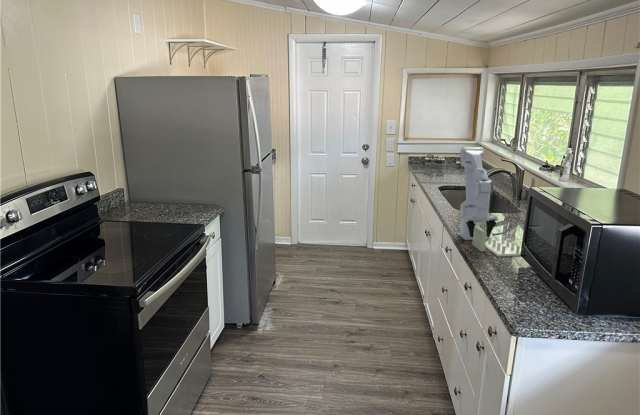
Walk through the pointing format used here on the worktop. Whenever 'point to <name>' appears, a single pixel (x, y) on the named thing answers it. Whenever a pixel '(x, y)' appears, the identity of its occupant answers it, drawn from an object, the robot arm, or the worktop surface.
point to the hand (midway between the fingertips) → (479, 236)
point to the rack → (503, 247)
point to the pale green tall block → (479, 238)
